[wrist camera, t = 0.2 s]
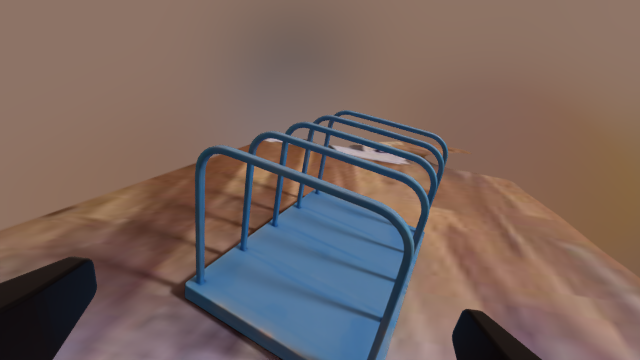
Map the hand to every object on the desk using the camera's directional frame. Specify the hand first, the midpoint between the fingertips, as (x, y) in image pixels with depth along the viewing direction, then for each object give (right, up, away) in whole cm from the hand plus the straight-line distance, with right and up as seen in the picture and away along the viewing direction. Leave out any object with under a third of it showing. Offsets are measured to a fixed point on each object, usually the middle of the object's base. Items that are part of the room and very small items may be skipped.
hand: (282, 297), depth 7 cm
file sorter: (+2, -7, +27) cm, 28 cm away
